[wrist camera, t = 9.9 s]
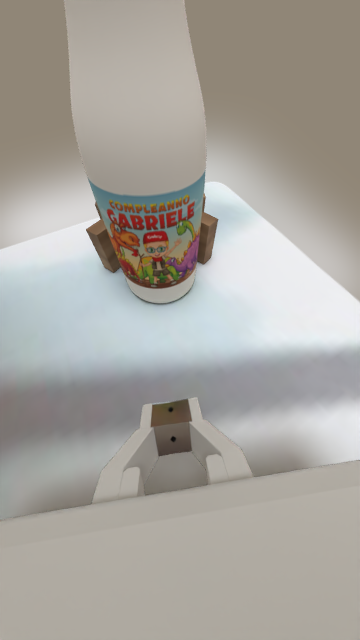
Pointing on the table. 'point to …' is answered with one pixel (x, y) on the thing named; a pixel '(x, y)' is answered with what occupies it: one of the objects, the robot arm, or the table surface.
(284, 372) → the table surface
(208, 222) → the cradle
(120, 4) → the milk bottle
